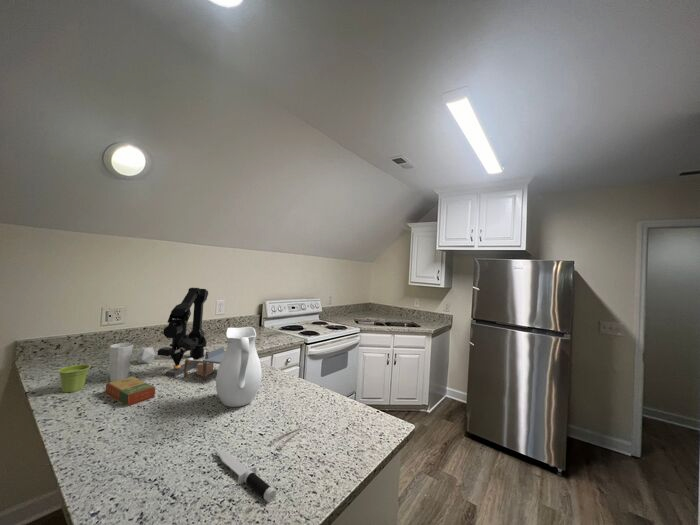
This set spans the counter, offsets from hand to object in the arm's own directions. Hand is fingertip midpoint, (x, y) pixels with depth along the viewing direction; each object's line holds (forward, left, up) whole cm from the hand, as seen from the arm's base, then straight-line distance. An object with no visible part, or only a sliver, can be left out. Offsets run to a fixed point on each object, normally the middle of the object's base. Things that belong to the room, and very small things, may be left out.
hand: (177, 365), depth 135 cm
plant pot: (-24, -27, -4) cm, 36 cm away
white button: (0, +8, 0) cm, 8 cm away
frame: (+13, +4, -4) cm, 14 cm away
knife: (+67, -53, -4) cm, 86 cm away
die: (-27, +8, -4) cm, 28 cm away
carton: (+2, -25, -4) cm, 26 cm away
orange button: (0, 0, -1) cm, 1 cm away
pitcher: (+46, -20, -4) cm, 50 cm away
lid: (+22, +4, +5) cm, 23 cm away
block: (+13, +4, -4) cm, 14 cm away
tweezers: (+74, -33, -5) cm, 81 cm away
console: (0, +4, -4) cm, 5 cm away
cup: (-17, -14, -4) cm, 22 cm away
